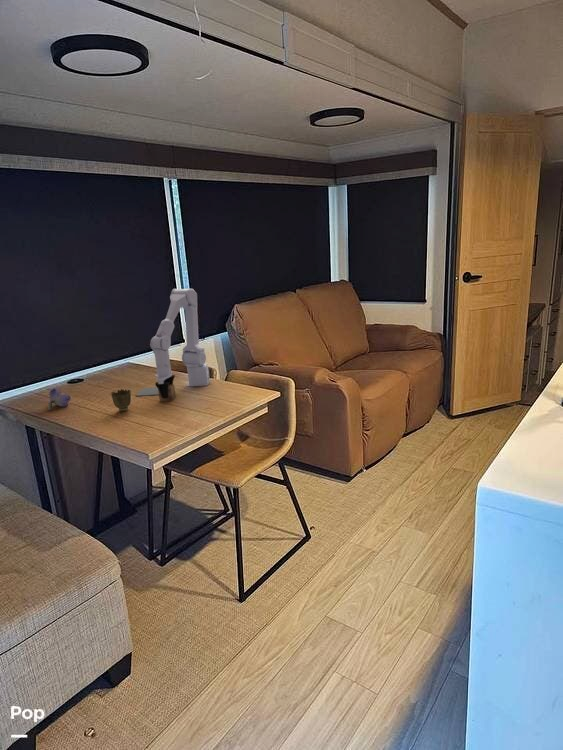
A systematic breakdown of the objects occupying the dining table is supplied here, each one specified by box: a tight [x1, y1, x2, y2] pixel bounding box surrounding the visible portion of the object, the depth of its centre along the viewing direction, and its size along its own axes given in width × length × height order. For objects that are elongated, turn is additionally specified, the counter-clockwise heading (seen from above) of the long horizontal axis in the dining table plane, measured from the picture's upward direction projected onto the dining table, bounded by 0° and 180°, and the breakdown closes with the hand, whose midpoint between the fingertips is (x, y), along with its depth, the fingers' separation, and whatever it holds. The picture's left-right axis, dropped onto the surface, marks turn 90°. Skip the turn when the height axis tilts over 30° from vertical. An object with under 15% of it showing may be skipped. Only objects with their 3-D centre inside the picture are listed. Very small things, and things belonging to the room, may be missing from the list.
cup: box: [110, 388, 132, 413], centre depth 192 cm, size 8×7×8 cm
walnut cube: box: [158, 383, 177, 402], centre depth 204 cm, size 6×6×6 cm
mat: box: [135, 386, 159, 397], centre depth 215 cm, size 11×11×1 cm
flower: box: [47, 387, 72, 411], centre depth 202 cm, size 9×9×10 cm
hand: (167, 395), depth 204 cm, fingers open, 7 cm apart
